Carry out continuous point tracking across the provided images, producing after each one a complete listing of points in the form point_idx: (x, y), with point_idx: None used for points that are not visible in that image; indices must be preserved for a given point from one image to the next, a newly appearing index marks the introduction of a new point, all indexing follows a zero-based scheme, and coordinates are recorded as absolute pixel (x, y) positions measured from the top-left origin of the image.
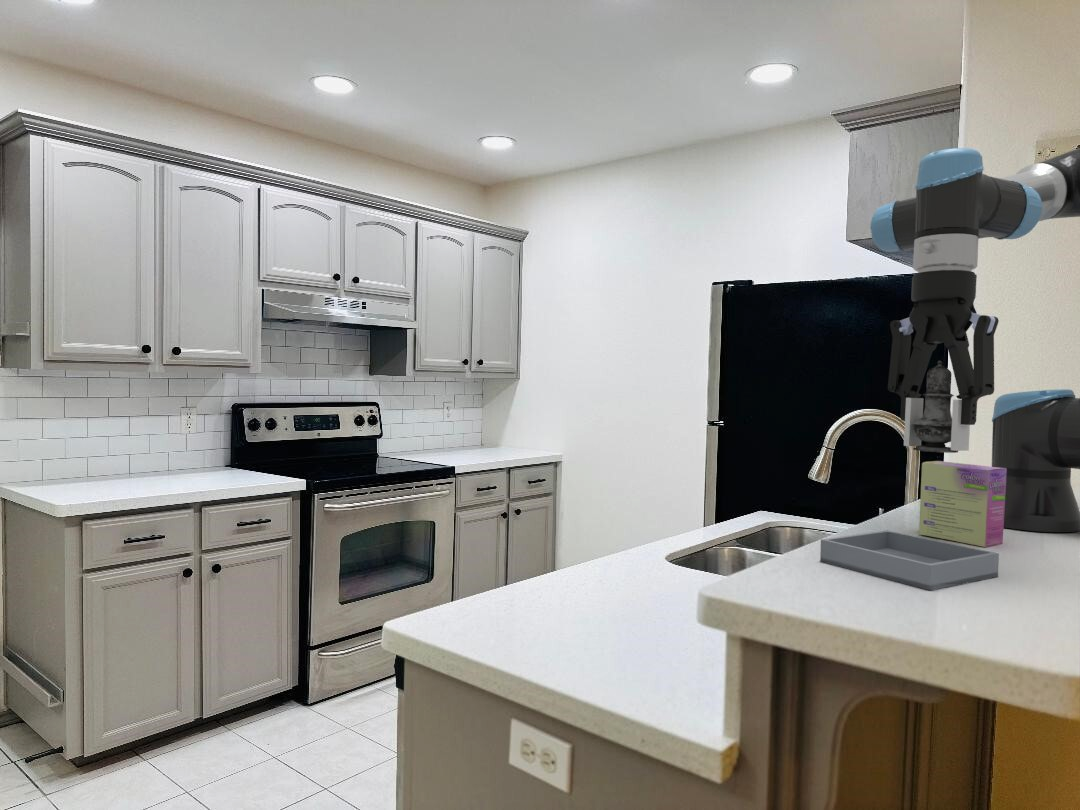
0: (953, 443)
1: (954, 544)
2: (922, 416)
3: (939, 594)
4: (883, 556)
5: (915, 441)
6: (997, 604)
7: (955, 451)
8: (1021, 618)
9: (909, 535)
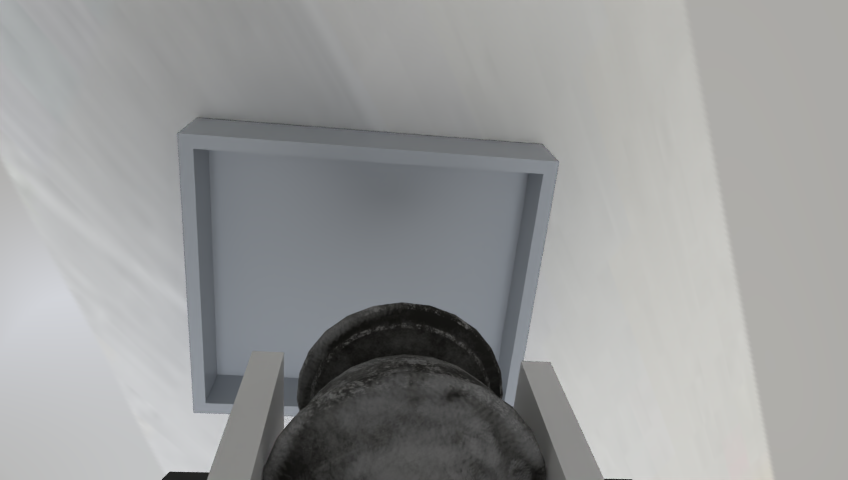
0: None
1: (426, 156)
2: (251, 469)
3: None
4: None
5: (280, 413)
6: (626, 367)
7: (501, 392)
8: (683, 411)
9: (270, 147)
